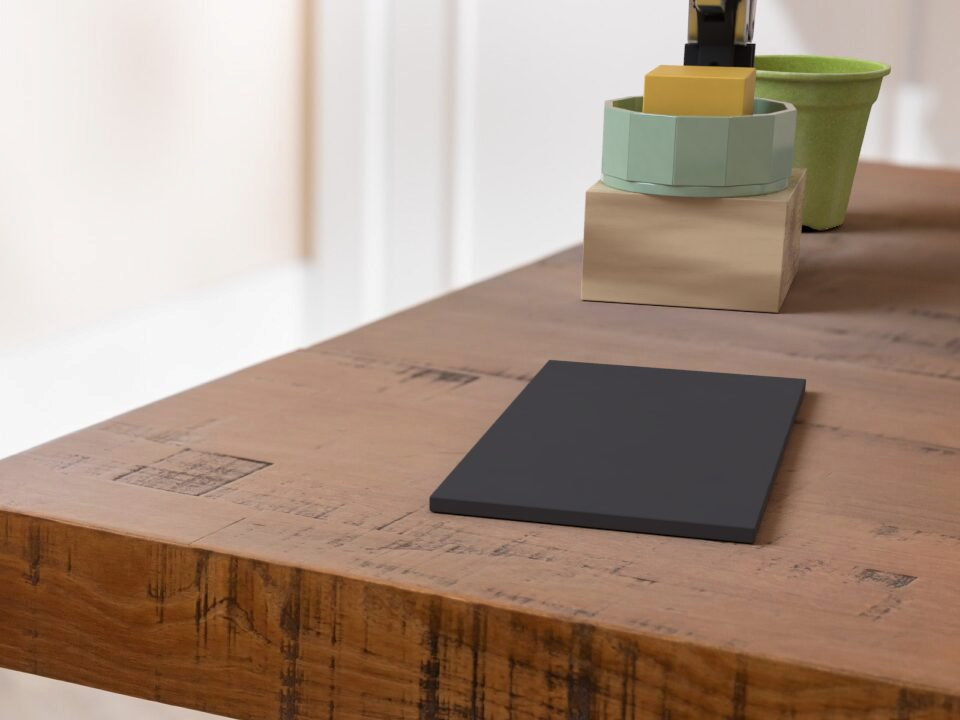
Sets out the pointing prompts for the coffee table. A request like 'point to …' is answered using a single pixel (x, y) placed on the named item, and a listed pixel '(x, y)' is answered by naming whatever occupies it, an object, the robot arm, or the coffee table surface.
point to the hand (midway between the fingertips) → (714, 127)
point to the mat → (631, 451)
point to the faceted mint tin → (698, 150)
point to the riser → (692, 248)
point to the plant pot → (824, 122)
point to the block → (699, 90)
